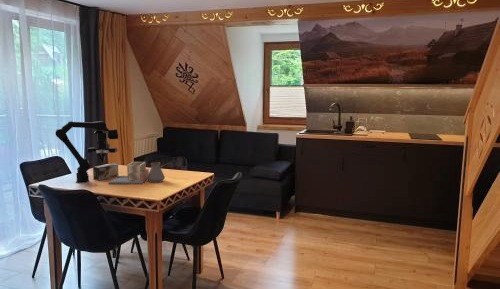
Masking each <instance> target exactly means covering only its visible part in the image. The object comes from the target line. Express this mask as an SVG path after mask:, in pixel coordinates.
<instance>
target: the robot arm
mask: <svg viewBox="0 0 500 289" xmlns="http://www.w3.org/2000/svg"><path fill="white" fill-rule="evenodd" d="M72 128H82V129H93V130H95V131H94V132H93V133H94V135H96V137H97V138H96V139H97V141H96V144H97V148H96V147H88V148H87V149H86V150H87V151H86V152H87V153H93V152H96V153H95V154H96V155H97V156H98V158H99V159H100V161H101V163H103V164H104V163H105V159H106V157H107V155H108V154H109V153H111V154H112V153H116V152H117V153H118V148H117V147H111V144H110V143H108V140H109V141H110V140H118V139H119V132H118V129H109V128H108V127H107V124H106V122H104V121H100V120H99V121H98V120H97V121H93V122H91V121H90V122H87V121H73V120H70V121H68V122H67V123H65V125H63V126H62V127H60V128H57V129H56V130H55V136H56V137H57V138H58V139H59V140H60V141H61V142H62V143H63V144H64V145H65V147H66V148H67V149H68V150H69V152H70V153H71V154H72V155H73V157H74V158H75V160H76V161H77V163H78V165H79V166H78V167H77V168H76V171H77V172H76V181H75V183H80V184H81V183H87V182H89V181H90V178H89V177H90V175H89V172H88V171H89V170H90V168H91V166H90V161H89V160H88V159H87V157H86V156H85V157H83V156H81V154H80V152H79V151H78V149H76V147H75V146H74V144H73V143H72V142H71V141H70V138H69V137H68V135H67V133H68V132H69V131H70V130H71V129H72ZM107 139H108V140H107Z"/></svg>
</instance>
